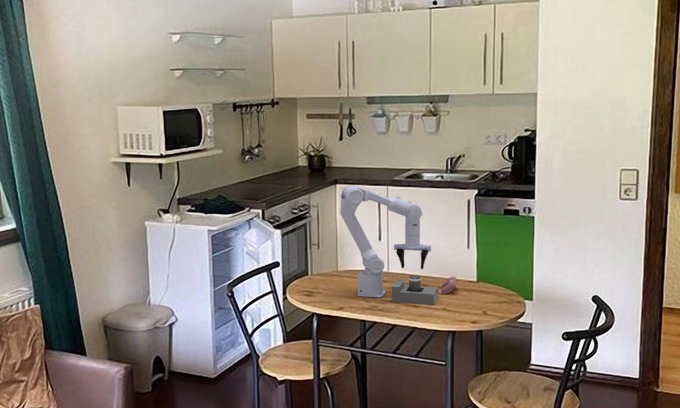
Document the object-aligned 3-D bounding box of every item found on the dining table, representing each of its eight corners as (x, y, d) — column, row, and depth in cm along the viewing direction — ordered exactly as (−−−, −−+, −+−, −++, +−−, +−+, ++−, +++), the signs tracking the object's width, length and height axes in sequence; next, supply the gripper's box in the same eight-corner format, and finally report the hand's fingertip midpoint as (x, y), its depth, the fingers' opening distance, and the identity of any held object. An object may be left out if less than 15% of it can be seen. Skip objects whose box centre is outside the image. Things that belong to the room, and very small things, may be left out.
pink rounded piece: (450, 298, 271) (458, 283, 270) (440, 293, 272) (448, 277, 270) (451, 291, 281) (459, 276, 279) (440, 286, 281) (448, 271, 280)
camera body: (391, 302, 263) (391, 286, 262) (397, 294, 272) (397, 279, 271) (434, 304, 258) (434, 289, 257) (437, 297, 268) (438, 282, 267)
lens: (407, 298, 263) (407, 278, 262) (409, 295, 268) (409, 275, 266) (420, 299, 262) (420, 278, 261) (421, 295, 266) (421, 275, 265)
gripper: (392, 235, 271) (392, 269, 273) (429, 237, 267) (429, 271, 269) (395, 232, 278) (396, 265, 280) (432, 233, 274) (431, 267, 276)
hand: (412, 268), depth 275 cm, fingers open, 7 cm apart
